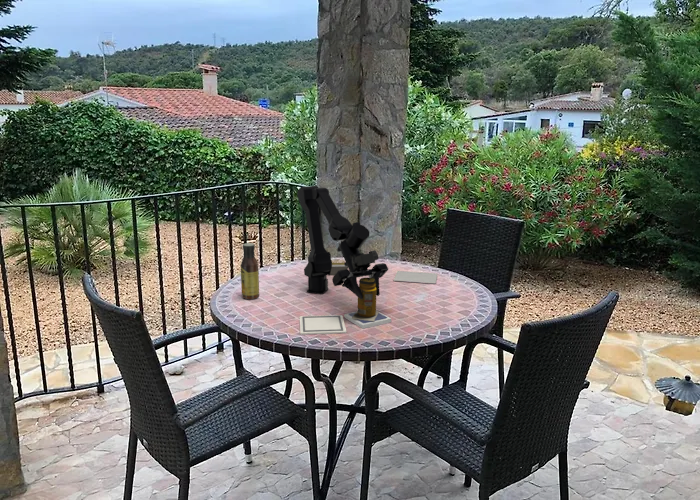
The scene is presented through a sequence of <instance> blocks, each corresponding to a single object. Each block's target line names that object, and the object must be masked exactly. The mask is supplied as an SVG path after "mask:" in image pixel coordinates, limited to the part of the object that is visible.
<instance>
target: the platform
mask: <svg viewBox="0 0 700 500" xmlns="http://www.w3.org/2000/svg"><path fill="white" fill-rule="evenodd" d="M331 261H332V268H331V273H330V275H329V276H334V275H335V274H336V273H337V271H339V270H345V269H348V266H345V265H344V263H345V260H343V259H339V261H338V259H334V260H333V259H331ZM348 270H349V269H348Z"/></svg>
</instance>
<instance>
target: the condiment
mask: <svg viewBox="0 0 700 500" xmlns="http://www.w3.org/2000/svg"><path fill="white" fill-rule="evenodd" d="M375 282H376V281H375V279H373V278H369V276H368V277H367V276H364V277H362V278H360V279H359V280H358V286H359V288H360V290H361V293H362V295H363V299H360V298H359V297H357V307H356V308H357V309H356V311H355V312H356V313H355V314H354V316H353V317H352V318H353V319H359V320H368V321H374V320H375V318H376V317H377V315H378V313H379V312H380V311H378V310H377V295H376V291H377V289H376V287H375V286H376V284H375Z"/></svg>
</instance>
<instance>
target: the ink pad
mask: <svg viewBox="0 0 700 500" xmlns="http://www.w3.org/2000/svg"><path fill="white" fill-rule="evenodd" d="M378 312H379V313H378V315H377V317H376V318H375V320H374V321H368V320H359V319H353V318H352V317H353V316H354V314H355V313H356V311H353V312H352V311H351V312H348V313H344V316H343V319H345V320H348V321H349V322H350V323H352V324H353V325H354V324H355V326H357V327H359V328H360V329H363V330H364V329H368V328H372V327H376V326H380V325H384V324H389V323H392V318H391V317H389V316H387V315H386V314H384V313H382V312H380V311H378Z"/></svg>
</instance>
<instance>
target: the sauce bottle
mask: <svg viewBox="0 0 700 500" xmlns="http://www.w3.org/2000/svg"><path fill="white" fill-rule="evenodd" d="M242 249H243V257H242V261H241V263H240V284H241V285H240V287H241V296H242V298H243V299H244V298H245V299H244V300H255V298H256V299H257V298H259V296H260V281H259V280H260V278H259V275H260V274H259V272H260V271H259V261H258V260H257V258H256V257H255V243H252V242H247V243H244V244H242Z"/></svg>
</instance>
